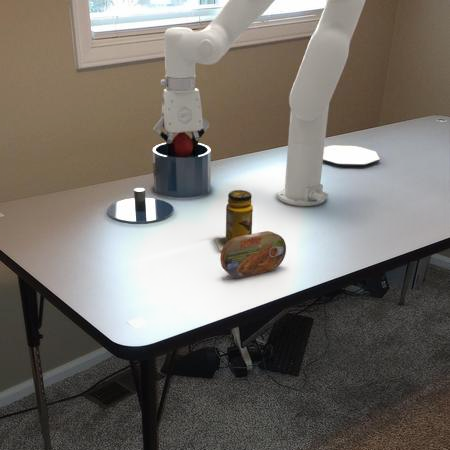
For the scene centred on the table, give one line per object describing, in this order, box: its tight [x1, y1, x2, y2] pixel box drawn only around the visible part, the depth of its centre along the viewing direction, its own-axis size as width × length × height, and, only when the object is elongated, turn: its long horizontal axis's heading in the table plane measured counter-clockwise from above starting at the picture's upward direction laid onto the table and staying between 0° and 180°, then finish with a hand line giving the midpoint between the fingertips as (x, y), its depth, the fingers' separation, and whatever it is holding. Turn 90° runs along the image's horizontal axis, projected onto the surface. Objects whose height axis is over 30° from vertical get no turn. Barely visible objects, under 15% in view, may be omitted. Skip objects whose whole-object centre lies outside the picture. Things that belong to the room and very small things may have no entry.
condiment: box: [213, 189, 254, 252], centre depth 149 cm, size 7×8×12 cm
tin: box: [219, 230, 287, 279], centre depth 138 cm, size 15×3×8 cm, turn 117°
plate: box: [323, 145, 381, 166], centre depth 208 cm, size 20×20×2 cm
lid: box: [107, 187, 175, 225], centre depth 165 cm, size 17×17×6 cm
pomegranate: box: [172, 132, 193, 157], centre depth 175 cm, size 6×6×8 cm
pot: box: [152, 142, 212, 199], centre depth 179 cm, size 16×16×11 cm
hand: (182, 155), depth 176 cm, fingers closed on pomegranate, 5 cm apart
